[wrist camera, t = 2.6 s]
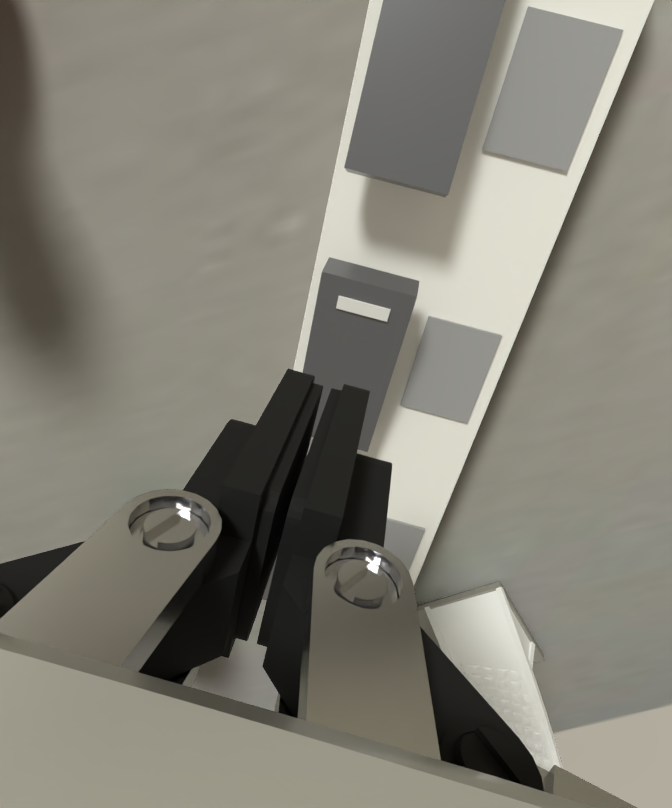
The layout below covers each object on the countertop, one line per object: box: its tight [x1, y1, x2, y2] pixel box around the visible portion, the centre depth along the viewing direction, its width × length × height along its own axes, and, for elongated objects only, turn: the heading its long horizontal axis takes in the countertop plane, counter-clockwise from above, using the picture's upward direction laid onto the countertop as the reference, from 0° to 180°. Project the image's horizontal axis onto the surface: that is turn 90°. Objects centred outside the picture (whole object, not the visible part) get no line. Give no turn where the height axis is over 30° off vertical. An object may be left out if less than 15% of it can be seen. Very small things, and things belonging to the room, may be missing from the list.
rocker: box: [344, 0, 505, 197], centre depth 18 cm, size 8×4×2 cm, turn 167°
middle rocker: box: [303, 257, 419, 452], centre depth 23 cm, size 8×4×2 cm, turn 167°
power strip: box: [293, 0, 654, 585], centre depth 26 cm, size 33×9×4 cm, turn 167°
